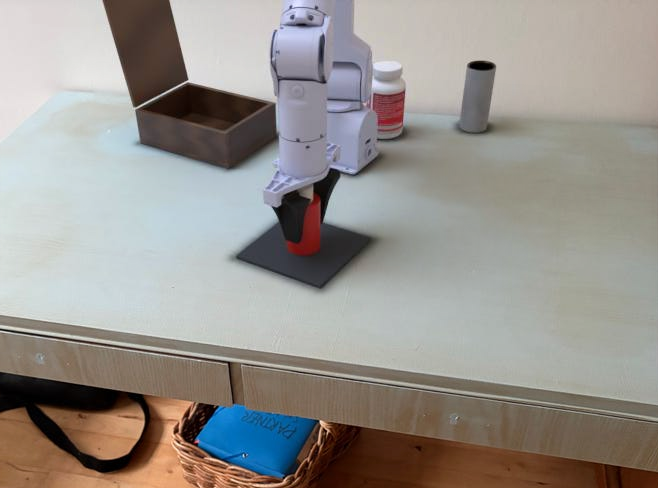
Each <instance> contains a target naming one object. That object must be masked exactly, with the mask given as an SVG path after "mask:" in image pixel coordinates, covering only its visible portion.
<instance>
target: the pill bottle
mask: <svg viewBox="0 0 658 488" xmlns="http://www.w3.org/2000/svg"><path fill="white" fill-rule="evenodd" d="M403 72H404V71H403V64H402V63H401V62H398V61H393V60H381V61H377V62H375V63H373V79H372V89H371V95H370V99H369V100H368V101H367V102H366V103H365V106H366V107H367V108H369V109H372V110H374V111H375V112H376V114H377V117H378V128H377V140H378V139H380V140H388V139H393V138H396V137H399V136H400V135H401V134H402V133H403V129H404V116H405V115H404V114H405V104H406V103H405V101H406V89H407V88H406V87H407V84H406V81H405V79H404V78H402V76H403Z"/></svg>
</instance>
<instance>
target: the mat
mask: <svg viewBox="0 0 658 488" xmlns="http://www.w3.org/2000/svg"><path fill="white" fill-rule="evenodd" d="M371 241H372V237H371V236H367V235H365V234H362V233H358V232H355V231H352V230H349V229H345V228H342V227H339V226H335V225H332V224H330V223H326V222H323V223H322V224H321V225H320V249H319V250H318V251H317V252H315V253H313V254H310V255H296V254H293V253H291V252H290V251H289V250H288V249H287V240H285V237H284V234H283V231H282V228H281V225H280V222H279V221H278V222H277V223H275V224H274V225H273V226H271V227H270V228H269V229H267V230H266V231H265V232H264V233H262V234H261V235H260V236H259V237H258V238H256V239H255V240H254V241H252V243H251V242H250V244H249V245H248V246H246V247H245V248H244V249H242V250H241V251H240V252H238V254H236V255H235V258H236V259H237V260H240V261H243V262H246V263H249V264H252V265H254V266H257V267H260V268H263V269H265V270H268V271H270V272H274V273H277V274H278V275H282V276H285V277H288V278H290V279H292V280H296V281H299V282H301V283H304V284H307V285H309V286H312V287H316V288H318V289H321V288H322V287H323V286H324V285H325V284H326V283H328V281H330V280H331V279H332V278H333V277H334V276H335V275H336V274H337V273H338V272H339V271H340V270H341V269H342V268H343V267H344V266H345V265H347V264H348V262H350V261H351V260H352V259H353V258H354V257H355V256H356V255H357V254H358V253H359V252H360V251H362V250H363V248H365V247H366V246H367V245H368V244H369V243H370V242H371Z"/></svg>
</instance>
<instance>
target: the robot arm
mask: <svg viewBox="0 0 658 488" xmlns="http://www.w3.org/2000/svg"><path fill="white" fill-rule="evenodd" d="M354 28H355V0H283V2H282V8H281V15H280V22H279V29H273V30H272V33H271V37H270V42H269V53H268V54H269V56H268V57H269V70H270V75H271V78H272V85H273V94H274V97H276V98H277V118H278V120H277V122H278V123H277V124H278V148H279V151H278V153H279V156H278V157H276V159H274V160H273V161H272V165H273V168H275V169H276V170H275V172H274V173H273V175H272V177H271V179H270V181H269V182H268V184H267V185H266V186H265V187H263V188H262V197H263V198H262V200H263V204H264V205H268V206H270V207H271V208H272V210H273V212H274V213H275V216H276V217H277V219H278V222H280V225H281V228H282V231H283V234H284V237H285V240H287V241H290V242H293V243H296V244H299V243H300V242H301V239H302V235H303V224H304V217H305V213H306V210H307V207H308V205H309V203H310V201H311V199H310V198H306V197H303V196H300V193H299V192H298V193H297V189H299V188H301V187H304V186H307V185H309V184H312V183H313V193H315V194H317V195H318V196H319V197H320V225H321V224H322V223H324V220H325V217H326V213H327V210H328V206H329V202H330V199H331V196H332V193H333V192H334V190H335V187H336V185H338V182H339V180H340V179H341V173H345V174H349V175H356V174H357V173H358V172H360V171H361V170H362V169H363V168H364V167H366V166H367V165H368V164H369V163H371V162H372V161H373V160H374V159H376V158H377V157H378V156H379V152H378V151H377V147H378V146H377V145H378V144H377V143H378V138H377V128H378V117H377V114H376V112H375V111H374V110H372V109H369V108H367V107H366V104H367V101H368V100H369V99H370V95H371V89H372V79H373V77H374V76H373V65H374V63H373V51H372V47H371V45H369V43H368V42H366V41H365V40H363V39H362V38H361V37H359V36H358V35H357V34H356V33H355V31H354Z"/></svg>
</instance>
